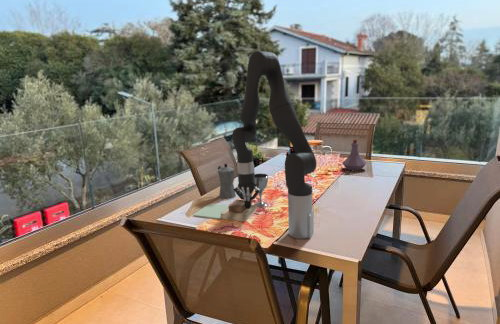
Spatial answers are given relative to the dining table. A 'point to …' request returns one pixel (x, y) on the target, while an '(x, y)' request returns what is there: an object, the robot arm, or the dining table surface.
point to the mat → (211, 211)
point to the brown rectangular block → (237, 206)
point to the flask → (354, 159)
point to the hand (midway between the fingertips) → (248, 208)
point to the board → (239, 214)
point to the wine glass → (261, 187)
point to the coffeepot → (226, 182)
